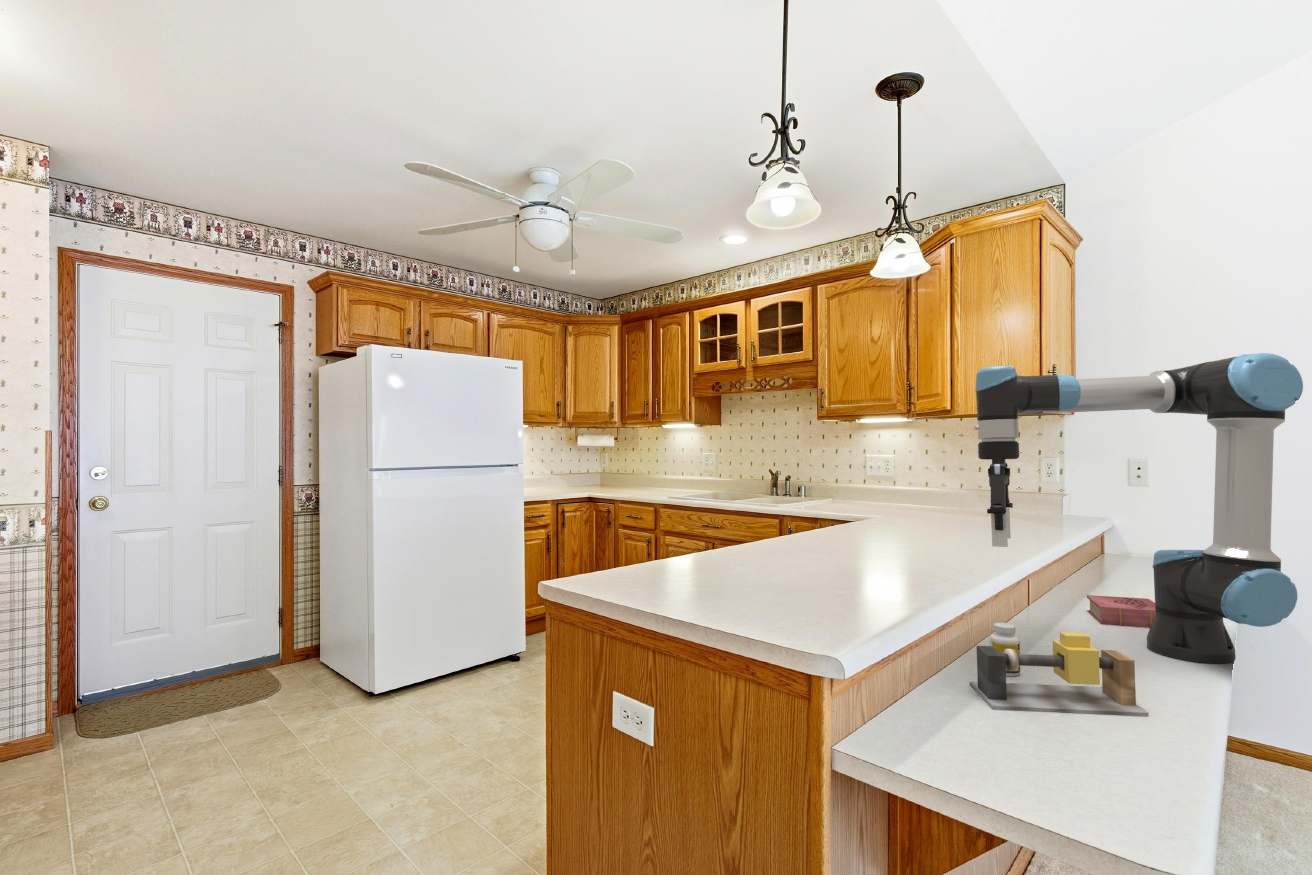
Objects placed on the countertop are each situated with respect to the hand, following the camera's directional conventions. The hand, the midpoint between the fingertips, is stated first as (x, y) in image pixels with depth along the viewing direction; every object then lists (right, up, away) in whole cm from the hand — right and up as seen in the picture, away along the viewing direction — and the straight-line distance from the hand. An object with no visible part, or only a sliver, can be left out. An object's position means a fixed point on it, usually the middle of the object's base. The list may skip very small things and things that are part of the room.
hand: (1001, 542), depth 131 cm
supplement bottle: (0, -27, -1) cm, 27 cm away
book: (+54, -28, +37) cm, 71 cm away
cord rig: (+1, -26, -16) cm, 31 cm away
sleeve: (+5, -22, -16) cm, 28 cm away
